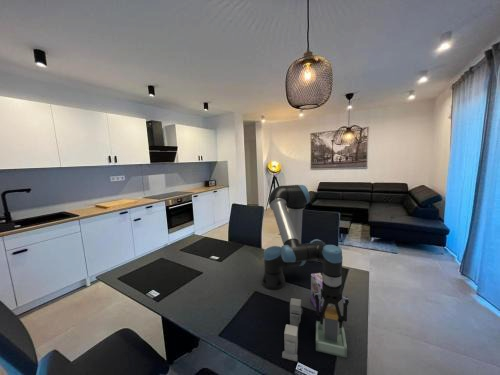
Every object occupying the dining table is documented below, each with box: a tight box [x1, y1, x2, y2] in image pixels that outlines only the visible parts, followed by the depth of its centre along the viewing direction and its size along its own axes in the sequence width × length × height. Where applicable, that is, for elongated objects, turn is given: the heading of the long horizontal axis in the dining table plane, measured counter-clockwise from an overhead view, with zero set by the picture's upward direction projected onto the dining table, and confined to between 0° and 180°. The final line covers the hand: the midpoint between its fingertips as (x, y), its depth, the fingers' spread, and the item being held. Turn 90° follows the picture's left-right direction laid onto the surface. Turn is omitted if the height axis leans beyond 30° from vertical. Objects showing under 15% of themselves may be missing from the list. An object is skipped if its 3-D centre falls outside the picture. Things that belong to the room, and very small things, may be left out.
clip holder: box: [281, 307, 303, 363], centre depth 97 cm, size 6×28×6 cm, turn 162°
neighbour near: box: [283, 324, 299, 356], centre depth 89 cm, size 5×5×9 cm
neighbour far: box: [289, 297, 302, 324], centre depth 106 cm, size 5×5×9 cm
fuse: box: [324, 306, 338, 342], centre depth 91 cm, size 5×5×12 cm
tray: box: [315, 320, 348, 359], centre depth 92 cm, size 12×12×4 cm
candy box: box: [310, 272, 332, 315], centre depth 112 cm, size 14×6×16 cm, turn 5°
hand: (330, 331), depth 91 cm, fingers closed on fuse, 5 cm apart
